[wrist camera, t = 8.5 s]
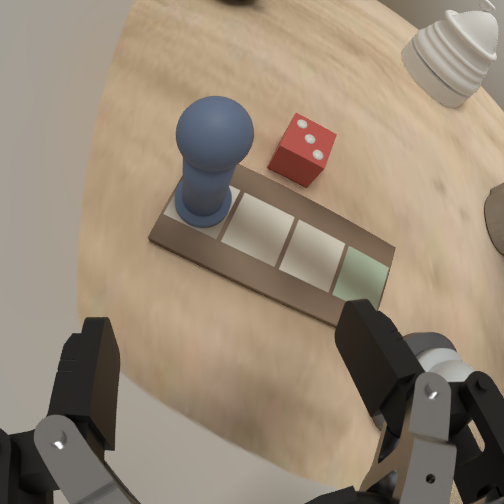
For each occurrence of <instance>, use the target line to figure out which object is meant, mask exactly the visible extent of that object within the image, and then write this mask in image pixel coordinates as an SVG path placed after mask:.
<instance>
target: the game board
mask: <svg viewBox="0 0 504 504" xmlns="http://www.w3.org/2000/svg"><path fill="white" fill-rule="evenodd" d="M182 179H183V176H182V177H181V179H180V181H179V183H180V182H181V180H182ZM179 183H178V184H179ZM178 184H177V186H178ZM177 186H176V188H177ZM176 188H175V189H174V191H173V193H172V195H171V196H170V198H169V200H168V202H167V204H166V205H165V207H164V209H163V211H162V213H161V214H160V216H159V218H158V220H157V222H156V224H155V225H154V227H153V229H152V231H151V233H150V235H149V237H148V239H149V241H151V242H153V243H155V244H157V245H159V246H161V247H163V248H165V249H167V250H169V251H171V252H173V253H175V254H177V255H179V256H182V257H184V258H186V259H188V260H190V261H192V262H194V263H196V264H198V265H200V266H202V267H204V268H206V269H209V270H211V271H213V272H215V273H217V274H219V275H221V276H223V277H225V278H228V279H230V280H232V281H234V282H236V283H238V284H240V285H243V286H245V287H247V288H249V289H251V290H253V291H256V292H258V293H260V294H262V295H264V296H267V297H269V298H271V299H273V300H275V301H278V302H280V303H282V304H284V305H286V306H289V307H291V308H293V309H295V310H298V311H300V312H302V313H304V314H307V315H309V316H311V317H313V318H316V319H318V320H320V321H323V322H325V323H327V324H329V325H332V326H334V327H337V324H338V321H339V318H340V315H341V312H342V309H343V306H344V304H345V302H346V301H349V300H357V299H368V300H369V301H370V302H371V304H372V305H373V307H374V308H375V310H376V311H378V309H379V306H380V302H381V299H382V296H383V292H384V289H385V286H386V282H387V278H388V275H389V271H390V267H391V264H392V260H393V256H394V252H395V247H394V246H392V245H390V244H389V243H387V242H385V241H383V240H382V239H380V238H378V237H377V236H375V235H373V234H371V233H370V232H368V231H366V230H364V229H363V228H361V227H359V226H357V225H356V224H354V223H352V222H350V221H349V220H347V219H345V218H343V217H341V216H340V215H338V214H336V213H334V212H332V211H330V210H329V209H327V208H325V207H323V206H321V205H319V204H317V203H315V202H314V201H312V200H310V199H308V198H306V197H304V196H302V195H300V194H298V193H296V192H294V191H292V190H291V189H289V188H287V187H285V186H283V185H281V184H279V183H277V182H275V181H273V180H271V179H269V178H267V177H265V176H263V175H261V174H259V173H256V172H254V171H252V170H250V169H248V168H246V167H244V166H242V165H240V164H237V165H236V168H235V171H234V173H233V176H232V179H231V182H230V185H229V188H230V190H231V194H232V202H231V206H230V209H229V211H228V213H227V215H226V217H225V218H224V219H223V220H222V221H221V222H220V223H218V224H217V225H215V226H212V227H209V228H197V227H193V226H191V225H189V224H187V223H186V222H184V221H183V220H182V219H181V218H180V216H179V215H178V213H177V211H176V207H175V191H176Z"/></svg>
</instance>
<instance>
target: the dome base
mask: <svg viewBox="0 0 504 504" xmlns="http://www.w3.org/2000/svg"><path fill="white" fill-rule="evenodd" d="M403 340H405V341H406V343H407V344H408V346H409V347H410V349H411V350H412V352H413V353H414V355H415V356H417V355H418V354H420V353H421V352H423V351H425V350H427V349H430V348H447V349H452V350H454V351H456V349H455V347H454V345H453V344H452V342H451V341H450V340H449V339H448V338H447V337H445V336H443V335H441V334H439V333H434V332H427V333H411V334H408V335H405V336H403ZM456 352H457V351H456ZM372 418H373V421H374V423H375V424H376V426H377V427H378V428H379V429H380V430H381V431H382V427H383V423H384V421H385V419H384V417H383V415H382V414H380V415H377V416H374V417H372Z"/></svg>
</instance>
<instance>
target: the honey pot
mask: <svg viewBox="0 0 504 504" xmlns="http://www.w3.org/2000/svg"><path fill="white" fill-rule="evenodd" d="M479 6H480V8H481V9H482V10H483V11H469V12H464V13H460V14H459V13H457V12H455V11H452V10H446V11H445V17H446V19H444V20H442V21H437V22H435V23H434V24H433V25H430V26H428V27H427V28H424V29H421V30H419V31H418V32H417V34H416V35H415V36H414V37H413V38H412V39H411V40H410V42H409V43H408V44H407V45H406V46H405V48H404V49H403V50H402V52H401V57H402V61H403V63H404V66H405V68H406V69H407V71H408V72H409V74H410V75H411V77H412V78H413V79H414V80H415V82H416V83H417V84H418V85H419V86H420V87H421V88H422V89H423V90H424V91H425V92H426V93H427V94H429V95H430V96H431V97H432V98H433V99H435V100H436V101H438V102H439V103H441V104H443V105H445V106H447V107H451V108H456V107H459V106H460V105H461V104H462V103H464V102H465V101H466V100H467V99H468V98H470V97H471V95H473V94H474V93H475V92H477V90H478V89H479V87H480V83H481V82H482V80H483V79H484V76H485V75H486V74H487V72H488V67H489V65H490V63H491V62H495V61H496V59H497V57H496V53H495V49H496V46H497V41H498V25H497V22H496V19H495V18H494V17H493V16H492V15H491V13H490V11H493V10H495V7H494V6H493V5H492V4H491V3H490V2H489V1H488V0H479Z"/></svg>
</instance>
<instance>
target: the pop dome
mask: <svg viewBox="0 0 504 504" xmlns="http://www.w3.org/2000/svg"><path fill="white" fill-rule="evenodd" d="M416 358H417V359H418V361H419V362H420V364H421V366H422V367H423V369H424V370H425V371H426V372H433V373H437V374H439V375H441V376H442V377H443V378H444V379H445V380H446V381H447V382H464V381H465V380H466V378H467V377H468V376H469V375H470V374H471V373H472V372H474V371H475V370H474V369H473V368H472V367H471V366H470V365H469V364H467V363H465V362H463V360H462V358H461V357H460V355H459V354H458V353H457V352H456V351H454V350H452V349H447V348H430V349H427V350H425V351H423V352H421V353H420V354H418V355H417V356H416Z"/></svg>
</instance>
